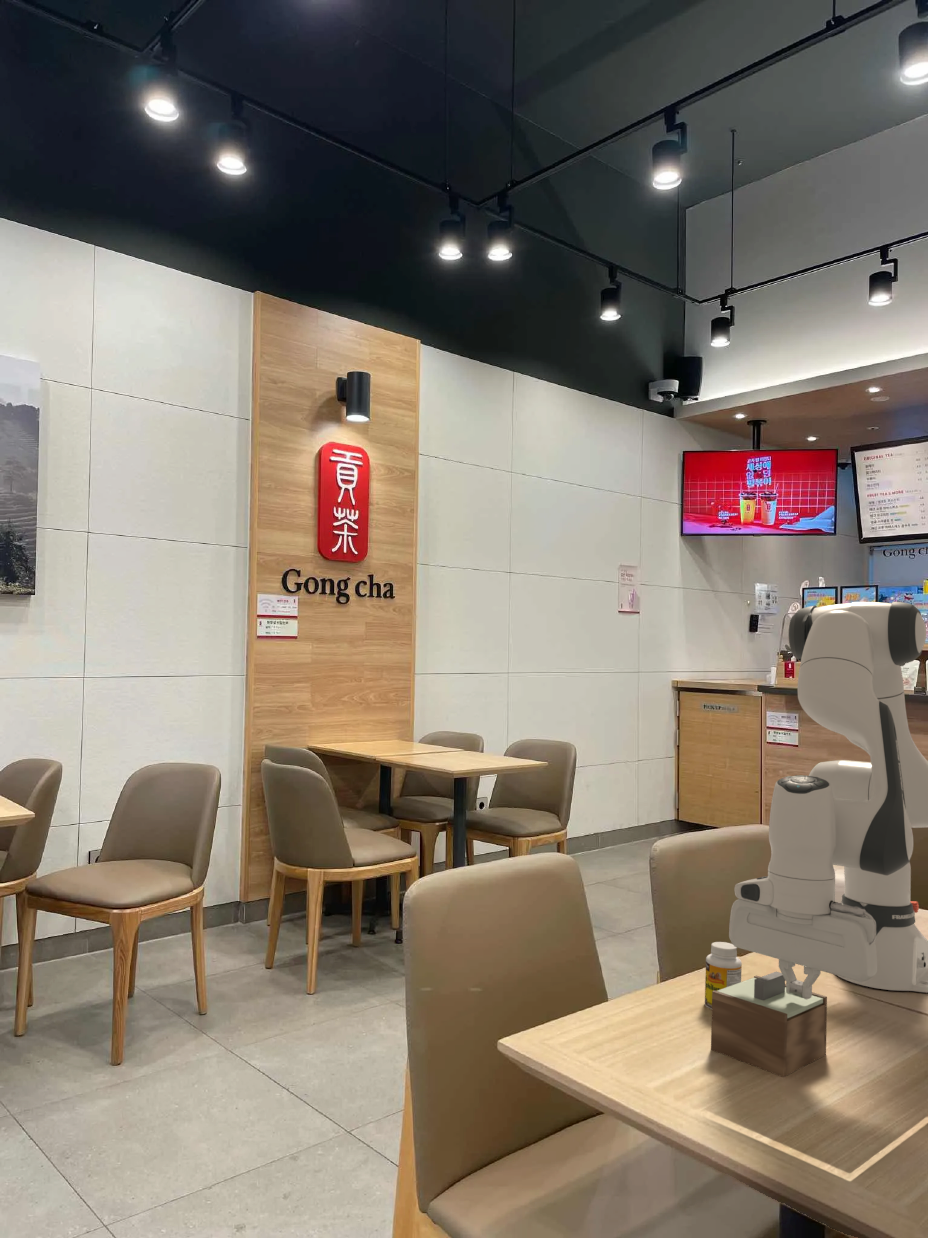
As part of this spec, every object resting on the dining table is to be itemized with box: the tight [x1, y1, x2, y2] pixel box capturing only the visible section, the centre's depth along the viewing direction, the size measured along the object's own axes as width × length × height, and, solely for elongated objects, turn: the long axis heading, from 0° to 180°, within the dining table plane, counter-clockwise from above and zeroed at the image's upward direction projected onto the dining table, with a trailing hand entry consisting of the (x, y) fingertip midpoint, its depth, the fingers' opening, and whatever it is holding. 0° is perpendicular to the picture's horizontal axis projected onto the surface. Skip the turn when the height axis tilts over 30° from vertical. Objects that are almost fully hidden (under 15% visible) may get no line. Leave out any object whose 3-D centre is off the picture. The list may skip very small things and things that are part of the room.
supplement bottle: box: [704, 941, 743, 1010], centre depth 146 cm, size 6×6×10 cm
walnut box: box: [710, 975, 828, 1078], centre depth 128 cm, size 12×11×9 cm
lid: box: [718, 971, 823, 1019], centre depth 129 cm, size 10×11×3 cm
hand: (798, 996), depth 126 cm, fingers closed
